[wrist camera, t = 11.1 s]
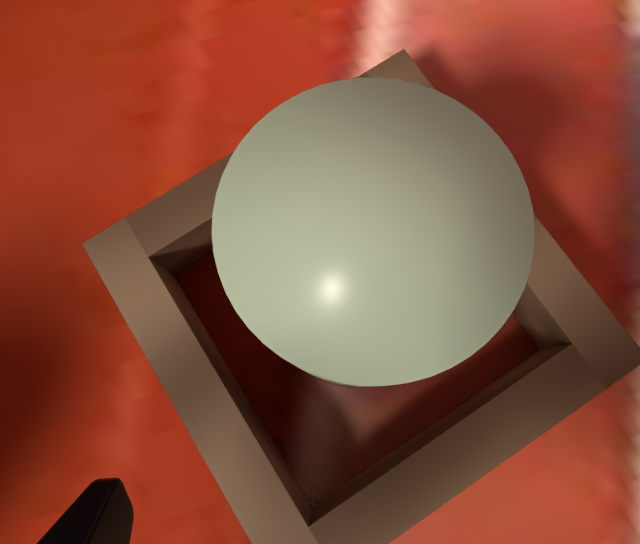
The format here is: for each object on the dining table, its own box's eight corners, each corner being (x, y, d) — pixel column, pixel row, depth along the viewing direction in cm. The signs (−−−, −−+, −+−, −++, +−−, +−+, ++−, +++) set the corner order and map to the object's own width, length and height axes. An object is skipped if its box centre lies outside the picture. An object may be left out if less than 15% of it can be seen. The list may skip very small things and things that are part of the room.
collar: (603, 362, 17) (648, 358, 15) (297, 578, 16) (290, 612, 14) (395, 91, 20) (403, 49, 17) (115, 262, 18) (81, 243, 16)
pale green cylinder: (448, 278, 18) (581, 150, 8) (388, 413, 17) (459, 447, 7) (318, 219, 19) (299, 33, 9) (253, 346, 18) (153, 295, 8)
